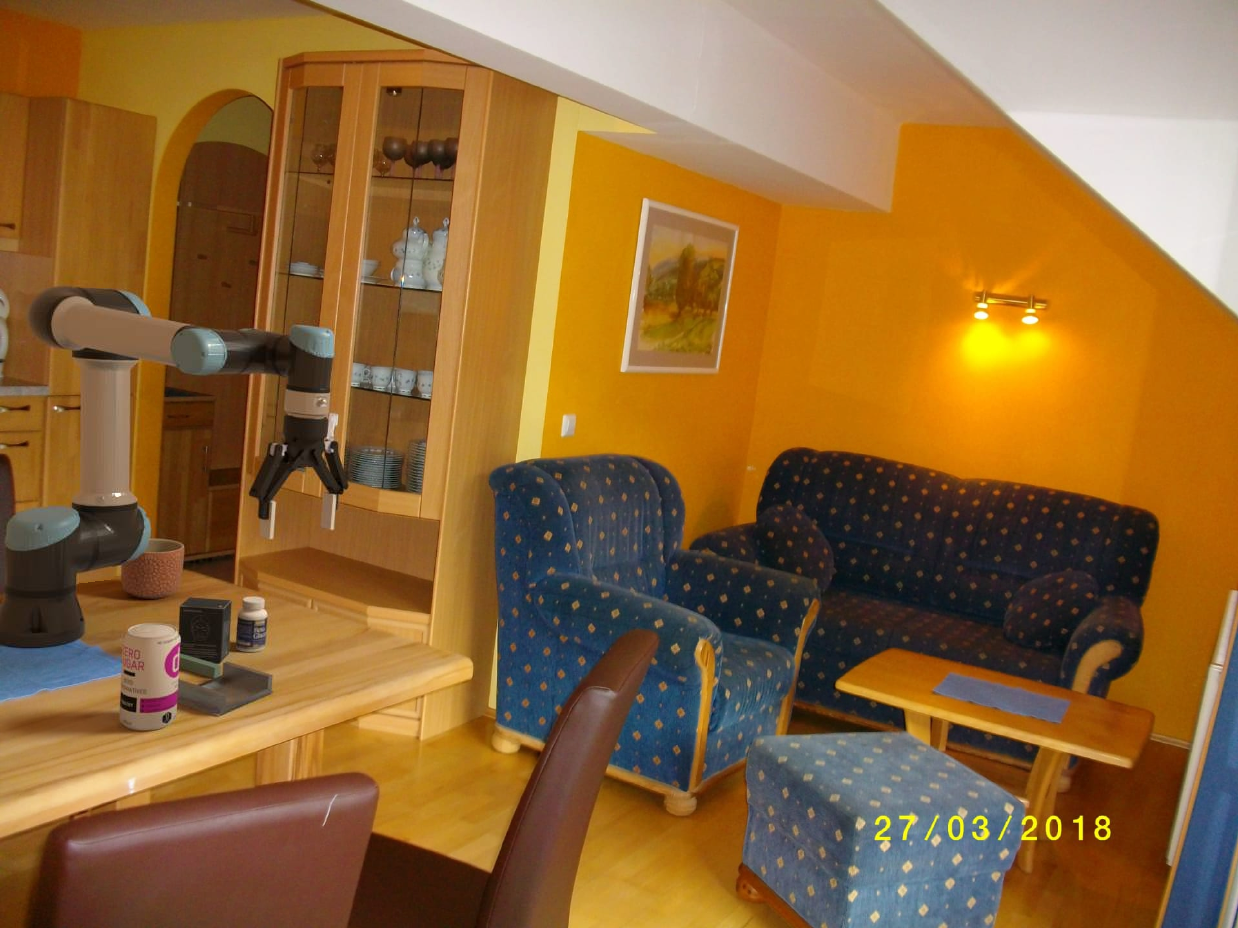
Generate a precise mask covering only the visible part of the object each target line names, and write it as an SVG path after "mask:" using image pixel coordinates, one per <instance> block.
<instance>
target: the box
mask: <svg viewBox="0 0 1238 928" xmlns="http://www.w3.org/2000/svg"><path fill="white" fill-rule="evenodd" d="M232 602H233V601H232V600H231V599H219V598H218V599H217V598H206V597H205V598H203V597H188V598H187V599H186V600H185V601H184V602H183V603H181V604H180V605H179V612H178V613H179V616H178V621H179V622H178V634H179V636H180V637H181V640H180V653H181V654H184V655H187V656H191V657H194V658H198V659H201V660H204V661H208V662H211V663H215V664H217V663H219V664H221V663H223V661H224V660H225V659H226V658H227V656H228V655H229V653H230V644H231V643H230V641H231V638H230V637H231V622H232V621H231V620H232V619H231V618H232Z"/></svg>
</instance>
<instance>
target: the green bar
mask: <svg viewBox="0 0 1238 928" xmlns="http://www.w3.org/2000/svg"><path fill="white" fill-rule="evenodd" d="M179 669H181V670H185V671H187V672H192V673H195V674H197V675H201V676H204V677H208V678H211V679H214V678H216V677H219V676H222V675H221V673H222V672H221V671H222V665H221V664H217V663H215V662H208V661H204V660H201V659H198V658H194V657H191V656H187V655H184V654H181V653H180V658H179Z"/></svg>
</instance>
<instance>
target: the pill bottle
mask: <svg viewBox="0 0 1238 928" xmlns="http://www.w3.org/2000/svg"><path fill="white" fill-rule="evenodd" d="M265 602H266V601H265V598H264V597H260V596H246V597H243V598H242V603H241V605H242V608H241V609H240V610H239V611H238V612H237V623H236V633H235V634H236V637H235V649H236V650H237V651H240V652H243V653H258V652H261V651H263V650H264V649H265V648H266V642H267V639H266V638H267V627H268V612H267V610H266V609H265V604H266V603H265Z"/></svg>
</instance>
